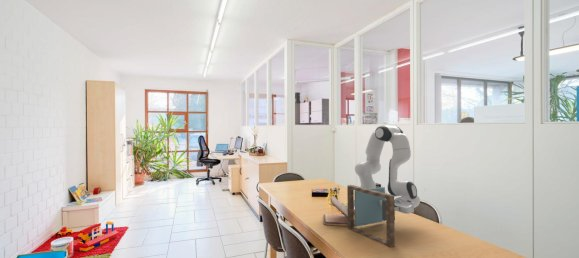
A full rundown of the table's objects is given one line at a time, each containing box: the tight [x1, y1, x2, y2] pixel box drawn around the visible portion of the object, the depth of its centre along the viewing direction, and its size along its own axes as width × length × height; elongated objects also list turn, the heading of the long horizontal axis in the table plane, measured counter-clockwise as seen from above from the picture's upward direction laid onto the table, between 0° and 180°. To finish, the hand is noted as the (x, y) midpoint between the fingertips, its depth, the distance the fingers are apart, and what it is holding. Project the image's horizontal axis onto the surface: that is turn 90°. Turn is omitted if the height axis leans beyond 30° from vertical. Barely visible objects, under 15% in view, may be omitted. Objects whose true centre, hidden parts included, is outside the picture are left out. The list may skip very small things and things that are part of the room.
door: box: [354, 186, 386, 228], centre depth 174 cm, size 24×3×23 cm, turn 113°
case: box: [322, 195, 355, 227], centre depth 185 cm, size 20×21×16 cm
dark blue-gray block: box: [382, 199, 396, 222], centre depth 162 cm, size 4×6×12 cm
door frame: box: [346, 184, 396, 248], centre depth 158 cm, size 32×3×28 cm, turn 33°
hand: (387, 208), depth 161 cm, fingers closed on dark blue-gray block, 4 cm apart
